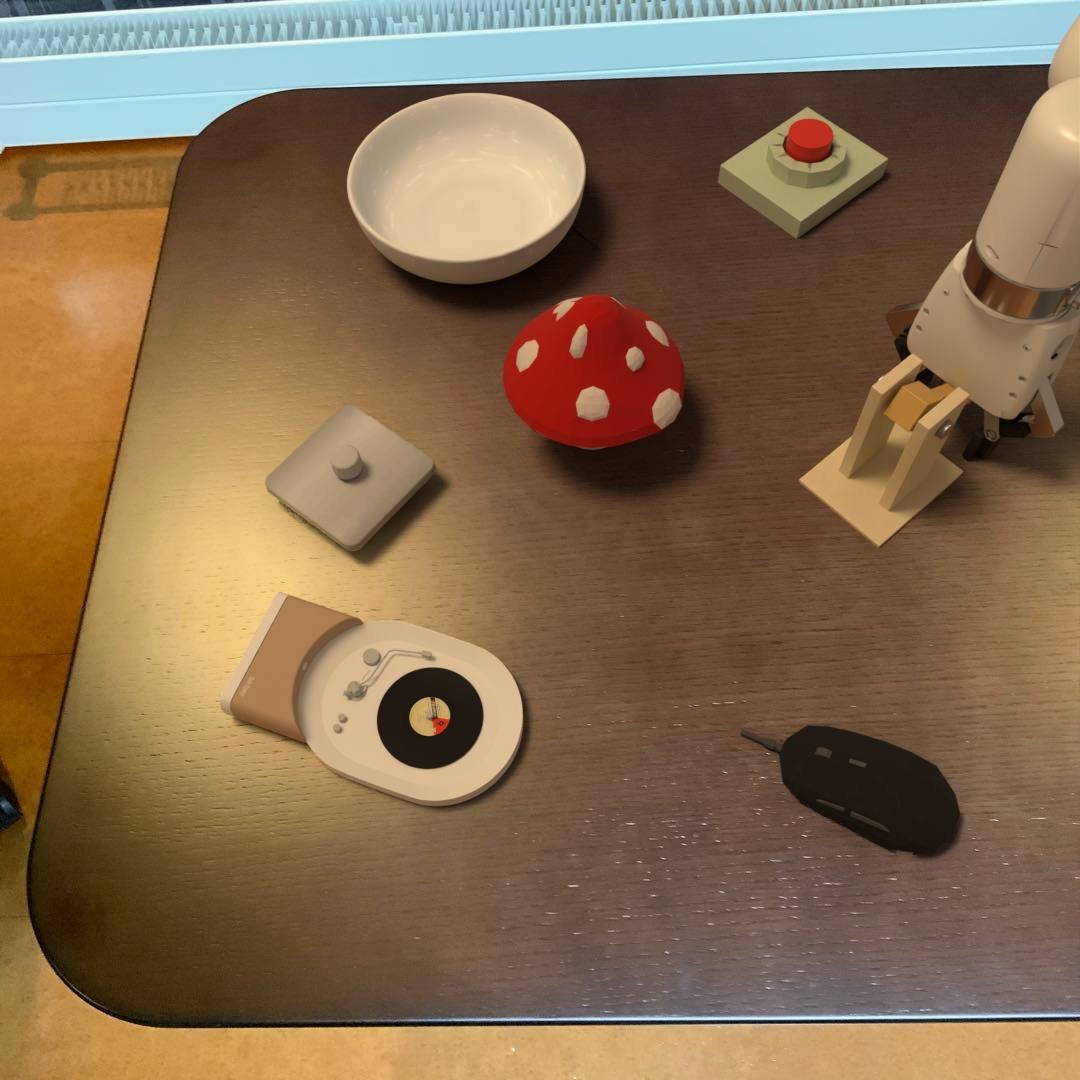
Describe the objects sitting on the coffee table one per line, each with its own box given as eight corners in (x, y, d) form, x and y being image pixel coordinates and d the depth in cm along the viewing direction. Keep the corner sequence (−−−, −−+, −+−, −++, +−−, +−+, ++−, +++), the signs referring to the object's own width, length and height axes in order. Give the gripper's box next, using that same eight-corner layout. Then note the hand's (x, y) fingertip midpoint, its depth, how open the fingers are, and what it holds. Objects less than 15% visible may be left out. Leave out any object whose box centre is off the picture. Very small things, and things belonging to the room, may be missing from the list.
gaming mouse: (757, 694, 74) (766, 672, 70) (965, 788, 70) (986, 770, 67) (723, 772, 71) (730, 753, 68) (937, 874, 67) (957, 860, 64)
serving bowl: (331, 191, 100) (315, 131, 94) (532, 129, 104) (530, 67, 98) (403, 345, 90) (391, 289, 84) (623, 271, 94) (626, 211, 88)
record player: (286, 573, 76) (546, 659, 72) (296, 592, 79) (546, 676, 75) (208, 718, 71) (484, 819, 67) (221, 733, 73) (486, 831, 70)
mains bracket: (879, 418, 85) (921, 319, 75) (959, 479, 82) (1014, 385, 72) (796, 487, 82) (827, 394, 72) (875, 554, 79) (920, 466, 69)
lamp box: (803, 125, 103) (811, 90, 100) (882, 177, 99) (893, 142, 96) (717, 183, 99) (722, 148, 96) (796, 239, 95) (805, 205, 92)
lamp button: (805, 128, 97) (809, 112, 96) (838, 149, 96) (842, 133, 94) (776, 148, 96) (779, 132, 95) (809, 170, 95) (813, 154, 93)
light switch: (358, 567, 80) (346, 534, 75) (268, 501, 83) (251, 465, 79) (443, 480, 83) (435, 444, 79) (353, 420, 87) (341, 382, 82)
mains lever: (941, 389, 83) (965, 355, 81) (974, 413, 81) (999, 380, 79) (874, 413, 74) (899, 377, 72) (910, 441, 73) (937, 404, 71)
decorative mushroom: (502, 366, 89) (490, 234, 76) (664, 354, 89) (679, 220, 76) (512, 507, 82) (501, 388, 69) (687, 494, 82) (709, 372, 69)
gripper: (1173, 311, 67) (1058, 469, 82) (954, 173, 73) (886, 343, 89) (1104, 373, 64) (999, 523, 80) (884, 225, 71) (827, 390, 87)
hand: (940, 427), depth 84 cm, fingers open, 5 cm apart
